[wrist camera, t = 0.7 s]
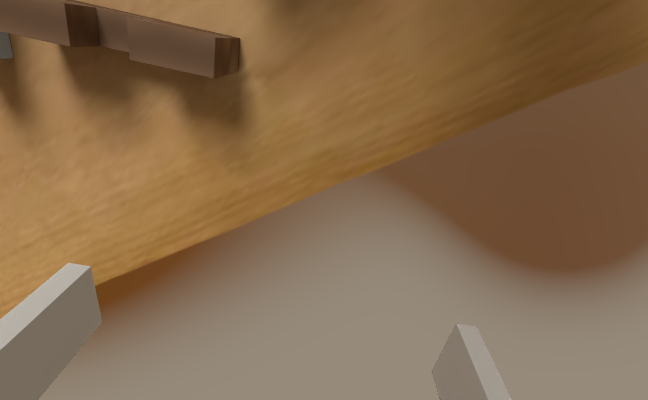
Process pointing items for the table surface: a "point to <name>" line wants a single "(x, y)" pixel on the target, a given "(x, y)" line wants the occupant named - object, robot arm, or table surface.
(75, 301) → the robot arm
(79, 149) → the table surface
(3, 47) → the light blue notched brick
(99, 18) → the walnut notched block
